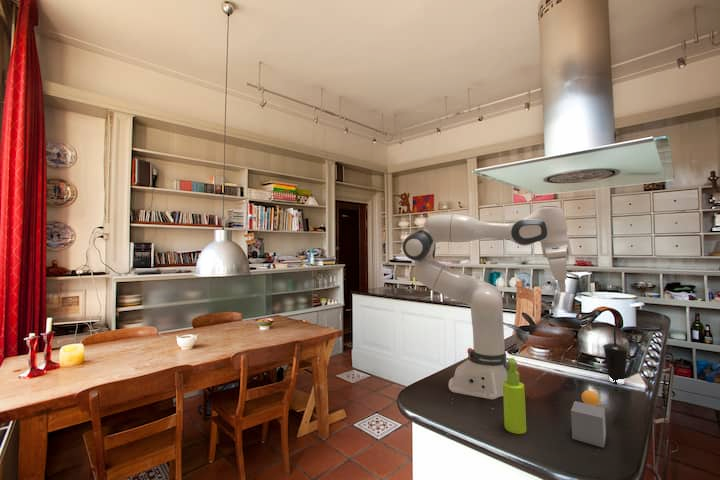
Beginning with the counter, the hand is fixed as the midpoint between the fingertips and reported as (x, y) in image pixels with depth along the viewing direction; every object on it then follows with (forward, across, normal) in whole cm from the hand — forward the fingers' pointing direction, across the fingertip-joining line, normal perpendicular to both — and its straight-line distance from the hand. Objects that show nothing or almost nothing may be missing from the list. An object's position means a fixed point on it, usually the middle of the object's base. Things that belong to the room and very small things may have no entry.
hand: (563, 289), depth 120 cm
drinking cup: (+40, -23, +12) cm, 48 cm away
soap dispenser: (+36, +29, -18) cm, 49 cm away
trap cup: (+38, +25, +1) cm, 45 cm away
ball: (+36, +4, +3) cm, 36 cm away
